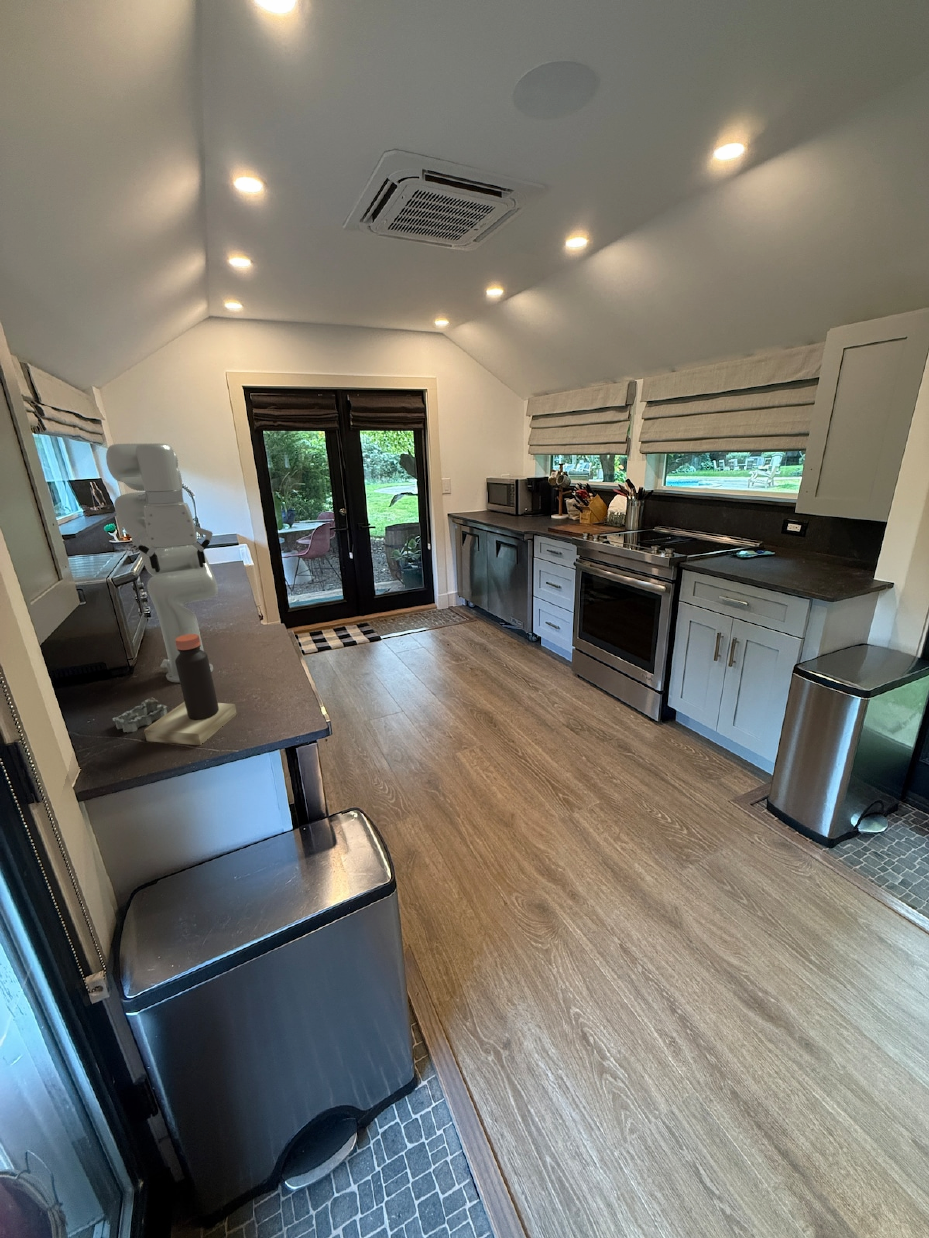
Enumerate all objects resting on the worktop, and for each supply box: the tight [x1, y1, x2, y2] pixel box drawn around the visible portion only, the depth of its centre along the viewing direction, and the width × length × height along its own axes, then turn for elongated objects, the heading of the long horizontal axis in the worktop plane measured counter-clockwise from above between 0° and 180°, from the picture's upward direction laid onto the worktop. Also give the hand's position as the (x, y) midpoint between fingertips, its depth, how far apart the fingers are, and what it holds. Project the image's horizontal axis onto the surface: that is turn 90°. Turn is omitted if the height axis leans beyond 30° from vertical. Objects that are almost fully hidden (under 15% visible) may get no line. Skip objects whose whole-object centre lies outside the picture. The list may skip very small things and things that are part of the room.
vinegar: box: [175, 634, 219, 720], centre depth 117 cm, size 7×7×20 cm
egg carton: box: [112, 696, 168, 733], centre depth 123 cm, size 11×8×4 cm
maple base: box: [143, 701, 238, 746], centre depth 119 cm, size 14×14×3 cm
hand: (180, 568), depth 122 cm, fingers open, 9 cm apart
